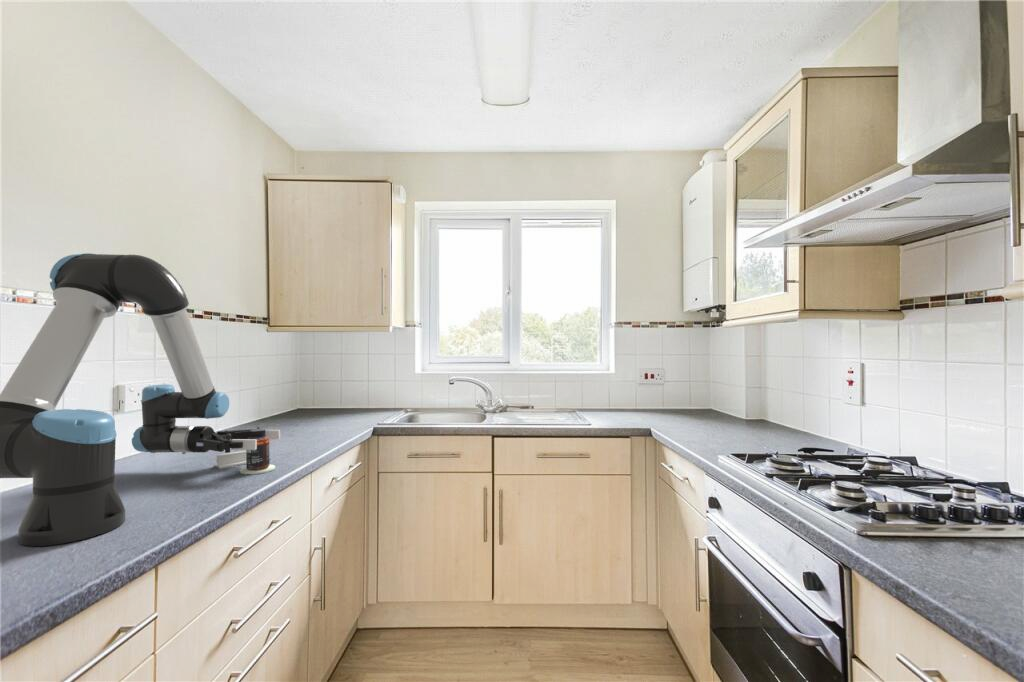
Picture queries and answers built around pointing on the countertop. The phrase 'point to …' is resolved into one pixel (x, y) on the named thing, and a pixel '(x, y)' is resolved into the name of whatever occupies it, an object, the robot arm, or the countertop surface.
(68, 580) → the countertop surface
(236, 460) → the low wall
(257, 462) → the supplement bottle
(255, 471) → the sage mat
